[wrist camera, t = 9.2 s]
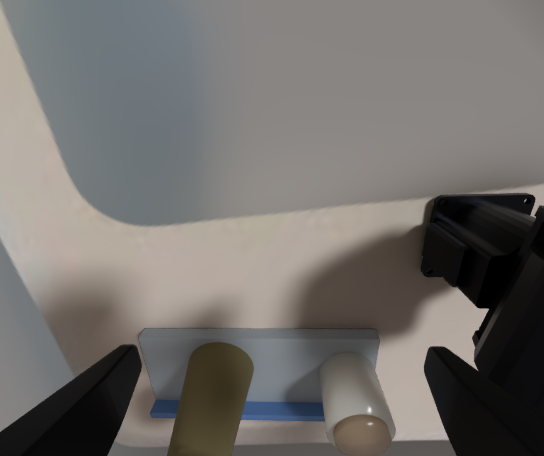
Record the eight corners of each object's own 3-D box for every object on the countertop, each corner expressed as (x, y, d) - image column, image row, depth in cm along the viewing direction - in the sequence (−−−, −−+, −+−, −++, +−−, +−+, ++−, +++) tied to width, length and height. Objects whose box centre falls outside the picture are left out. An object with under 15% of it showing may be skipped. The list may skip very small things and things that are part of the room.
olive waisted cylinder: (241, 336, 24) (208, 503, 13) (262, 383, 26) (248, 559, 16) (178, 349, 25) (102, 515, 14) (203, 394, 27) (154, 566, 17)
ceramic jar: (377, 352, 24) (403, 419, 19) (371, 392, 26) (393, 462, 20) (319, 352, 24) (329, 417, 19) (317, 391, 26) (326, 461, 21)
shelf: (375, 329, 24) (385, 351, 22) (366, 396, 28) (373, 422, 25) (144, 328, 25) (130, 349, 23) (162, 393, 29) (151, 417, 26)
